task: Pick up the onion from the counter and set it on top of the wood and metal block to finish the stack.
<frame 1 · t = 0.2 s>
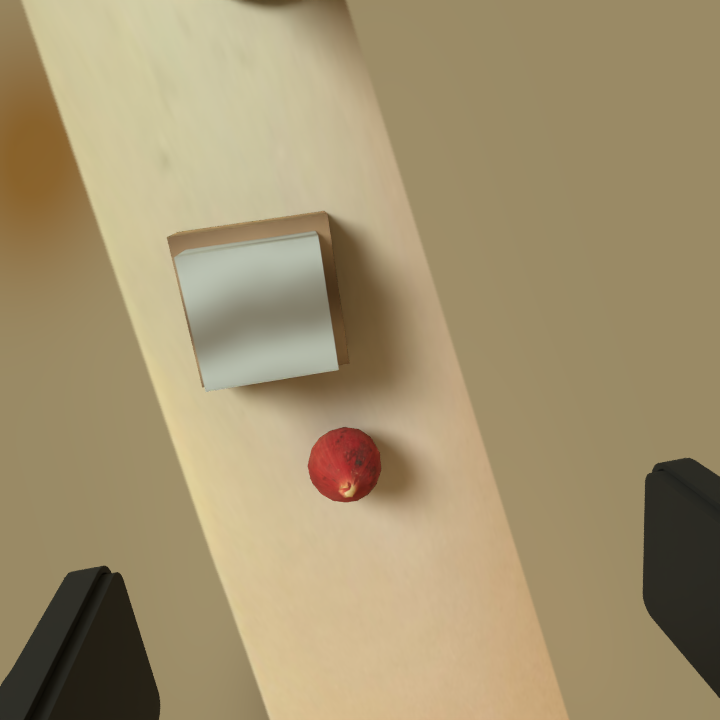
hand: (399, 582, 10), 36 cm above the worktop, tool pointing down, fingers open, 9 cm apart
wood and metal block: (265, 293, 44), on the worktop
onion: (340, 443, 49), on the worktop
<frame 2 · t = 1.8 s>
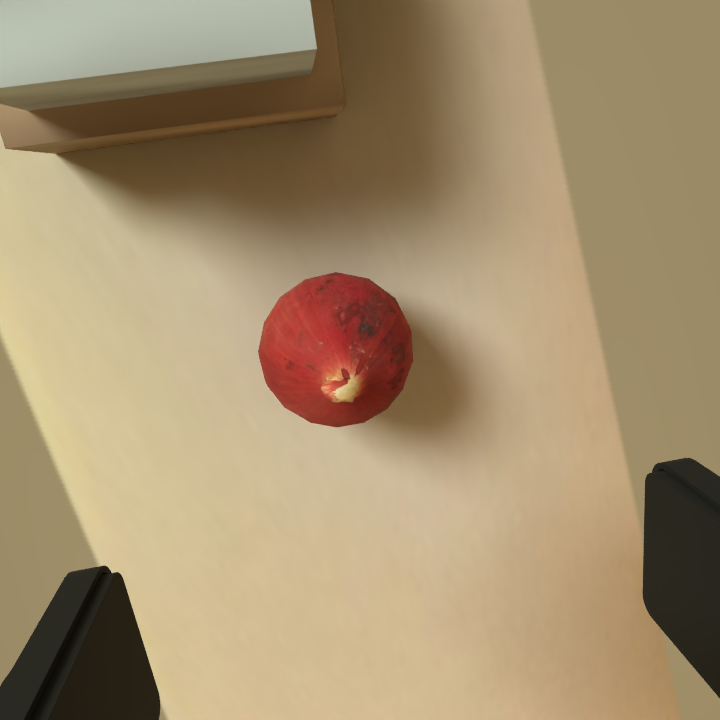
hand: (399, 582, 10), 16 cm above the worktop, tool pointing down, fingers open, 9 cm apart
onion: (329, 324, 25), on the worktop
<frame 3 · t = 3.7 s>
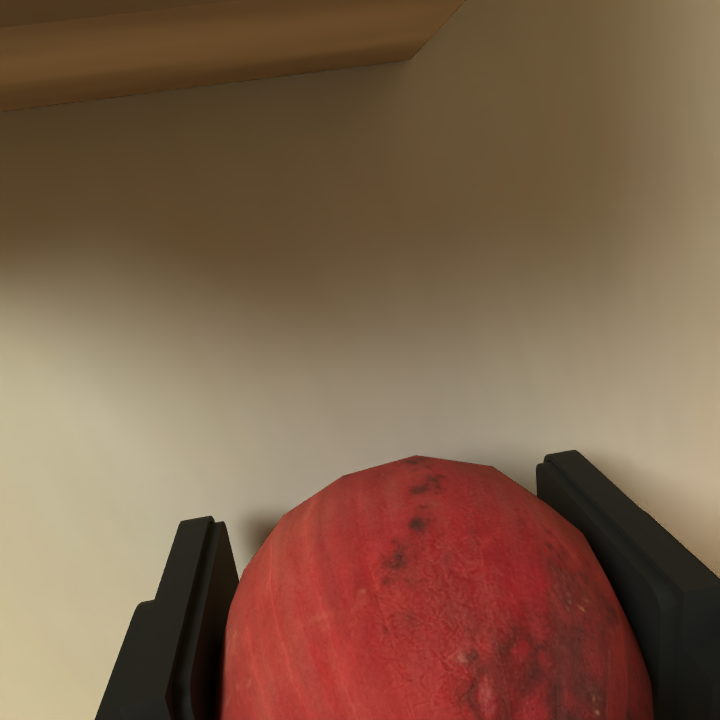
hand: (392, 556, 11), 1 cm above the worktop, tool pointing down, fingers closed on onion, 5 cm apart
onion: (382, 515, 12), on the worktop, touching gripper
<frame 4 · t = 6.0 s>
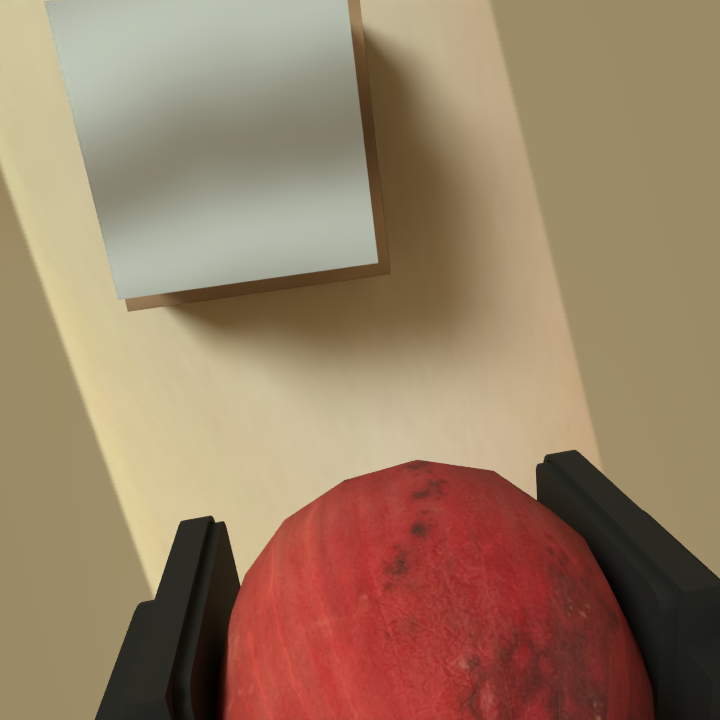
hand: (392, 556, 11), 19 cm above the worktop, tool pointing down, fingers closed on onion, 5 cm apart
wood and metal block: (245, 161, 26), on the worktop
onion: (382, 518, 12), point 17 cm above the worktop, touching gripper
when the fingers open (11 cm above the worktop, at t = 8.7 s): onion drops 2 cm, resting on wood and metal block.
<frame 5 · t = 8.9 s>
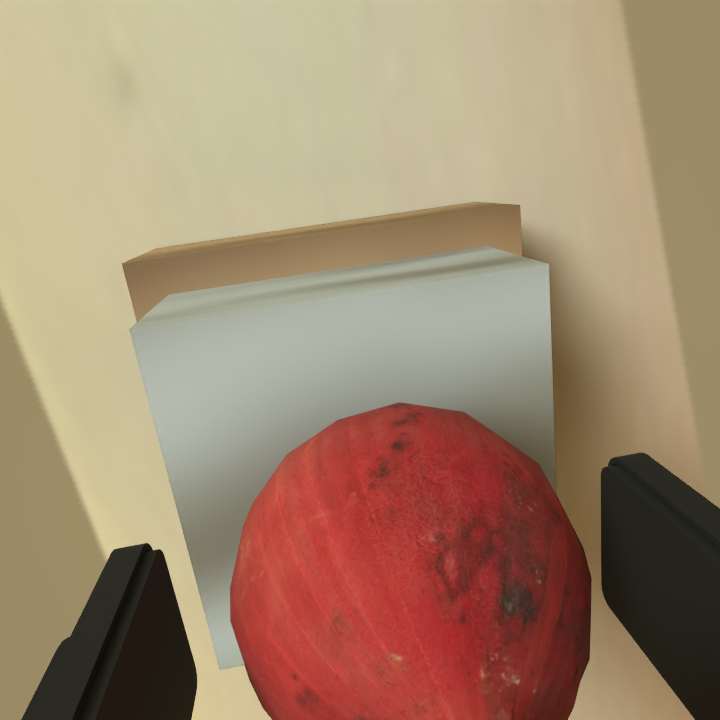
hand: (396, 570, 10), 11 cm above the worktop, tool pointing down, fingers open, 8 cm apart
wood and metal block: (341, 376, 21), on the worktop
onion: (372, 471, 13), point 8 cm above the worktop, touching wood and metal block
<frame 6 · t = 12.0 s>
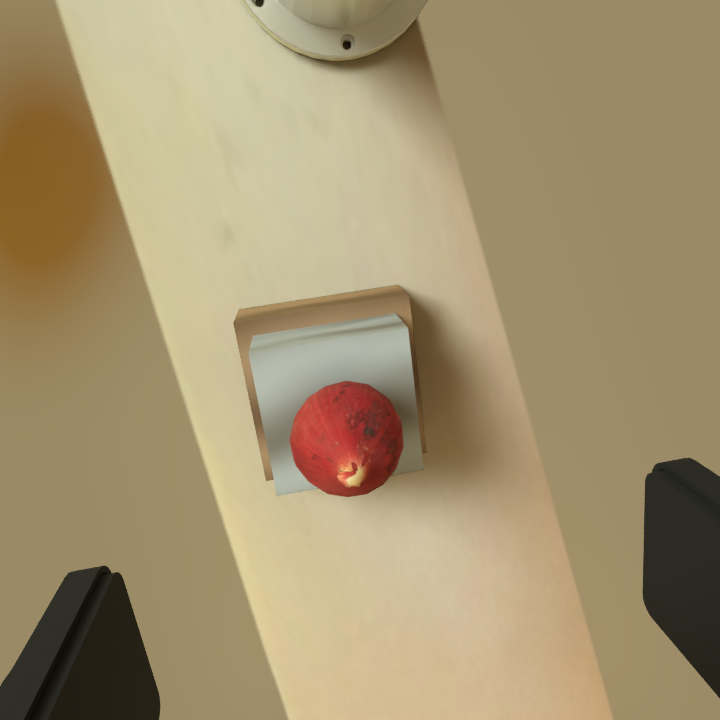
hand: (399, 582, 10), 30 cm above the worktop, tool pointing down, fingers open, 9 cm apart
wood and metal block: (331, 372, 41), on the worktop
onion: (341, 410, 33), point 8 cm above the worktop, touching wood and metal block
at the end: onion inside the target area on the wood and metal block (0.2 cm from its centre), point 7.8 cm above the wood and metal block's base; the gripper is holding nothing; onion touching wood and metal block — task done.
